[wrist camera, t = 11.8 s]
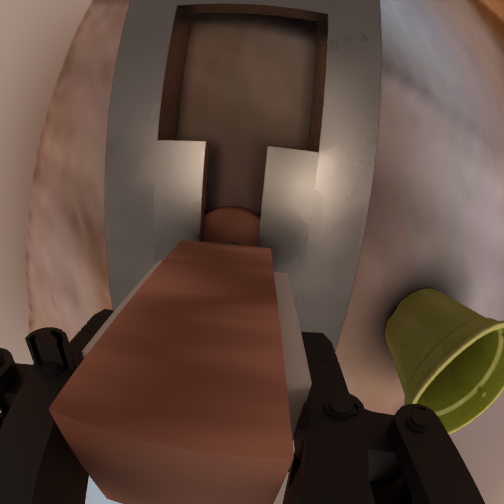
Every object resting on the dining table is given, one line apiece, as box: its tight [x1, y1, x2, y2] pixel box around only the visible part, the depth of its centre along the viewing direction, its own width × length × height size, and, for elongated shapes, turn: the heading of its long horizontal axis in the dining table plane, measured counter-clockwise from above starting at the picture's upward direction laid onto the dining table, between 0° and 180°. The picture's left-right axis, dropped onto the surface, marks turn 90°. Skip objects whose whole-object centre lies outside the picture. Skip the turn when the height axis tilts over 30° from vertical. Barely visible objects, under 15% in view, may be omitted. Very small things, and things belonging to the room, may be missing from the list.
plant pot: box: [385, 289, 504, 434], centre depth 16 cm, size 9×9×9 cm
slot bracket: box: [105, 0, 382, 351], centre depth 15 cm, size 14×24×3 cm, turn 175°
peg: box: [49, 207, 294, 504], centre depth 11 cm, size 6×6×15 cm
